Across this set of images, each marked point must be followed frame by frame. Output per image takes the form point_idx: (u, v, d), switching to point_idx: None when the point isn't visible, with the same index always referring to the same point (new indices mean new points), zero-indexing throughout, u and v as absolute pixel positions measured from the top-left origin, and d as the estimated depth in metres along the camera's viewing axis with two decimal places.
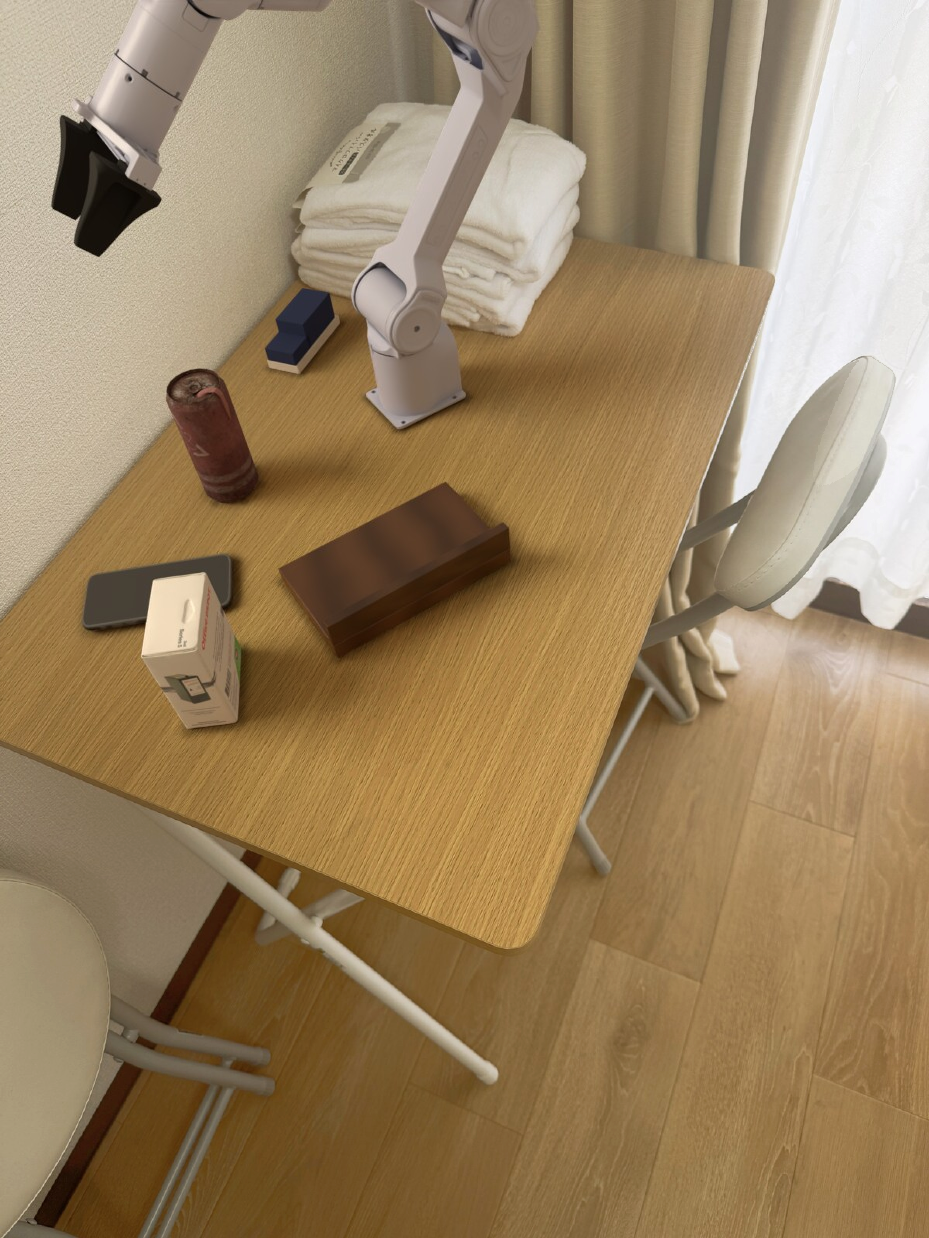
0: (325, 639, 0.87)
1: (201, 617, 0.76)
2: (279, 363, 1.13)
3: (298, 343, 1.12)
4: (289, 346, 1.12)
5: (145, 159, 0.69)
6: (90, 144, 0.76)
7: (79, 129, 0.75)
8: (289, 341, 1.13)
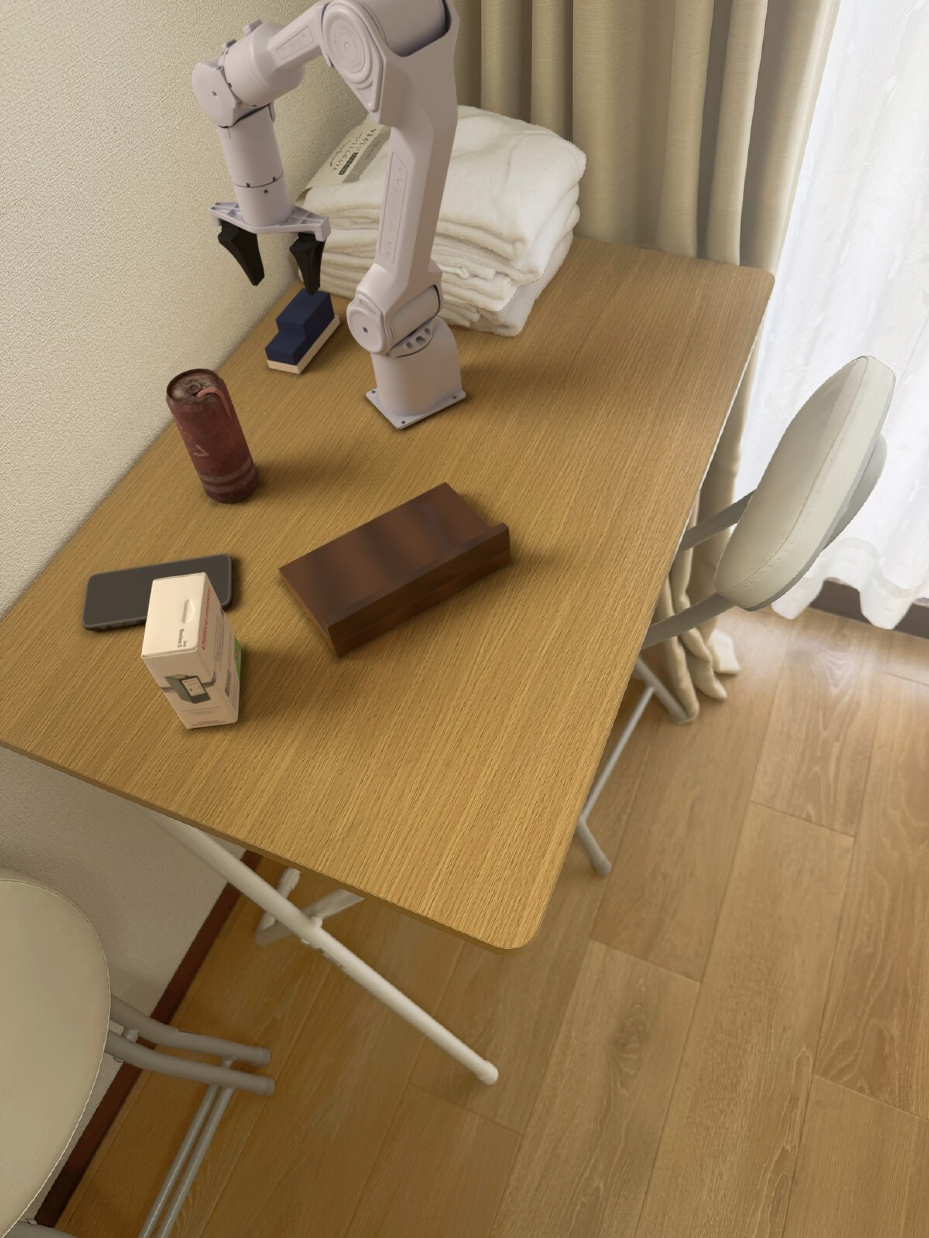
0: (325, 639, 0.87)
1: (201, 617, 0.76)
2: (279, 363, 1.13)
3: (298, 343, 1.12)
4: (289, 346, 1.12)
5: (214, 204, 1.05)
6: None
7: None
8: (289, 341, 1.13)
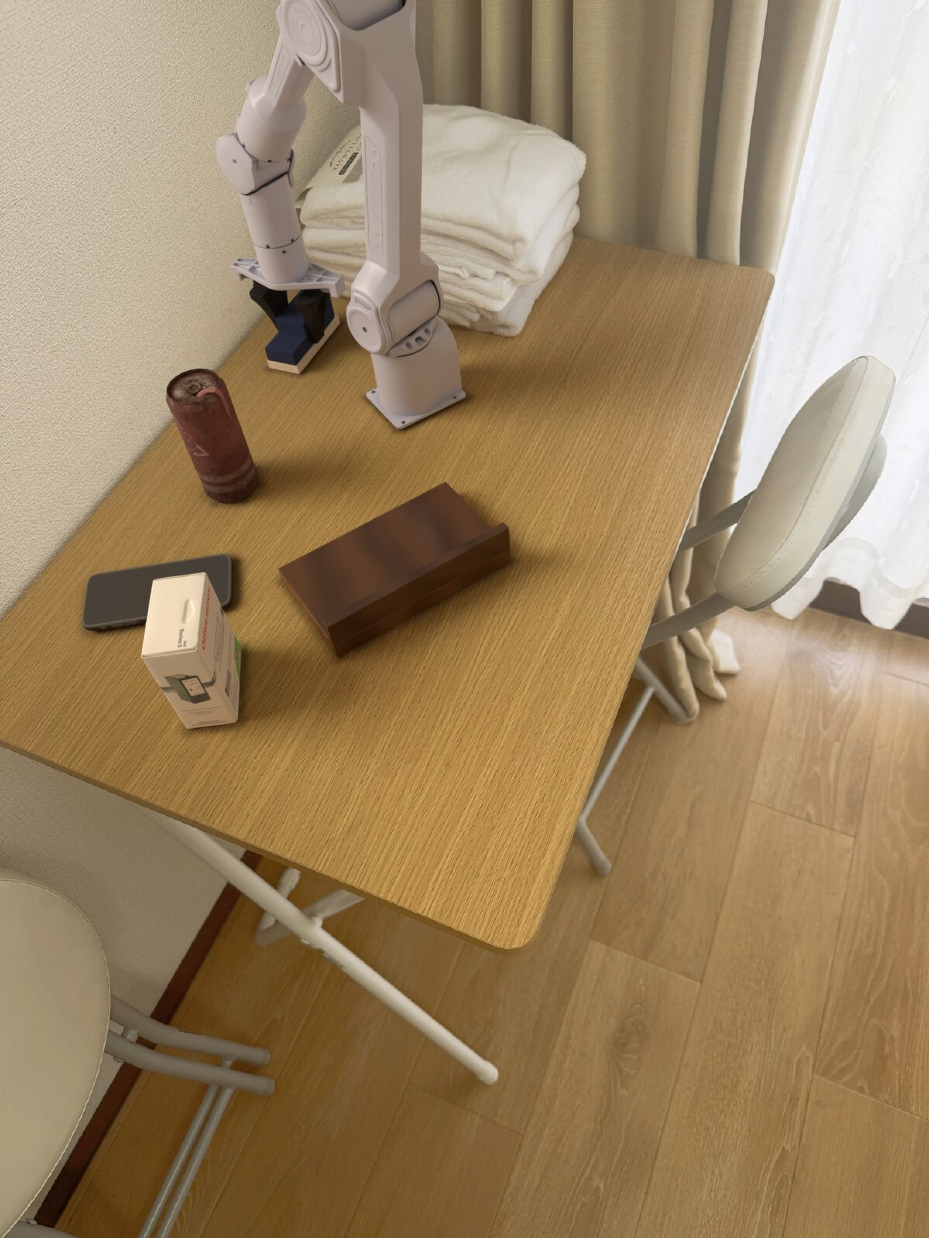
0: (325, 639, 0.87)
1: (201, 616, 0.76)
2: (279, 363, 1.13)
3: (298, 343, 1.12)
4: (289, 346, 1.12)
5: (236, 259, 1.11)
6: None
7: None
8: (289, 341, 1.13)
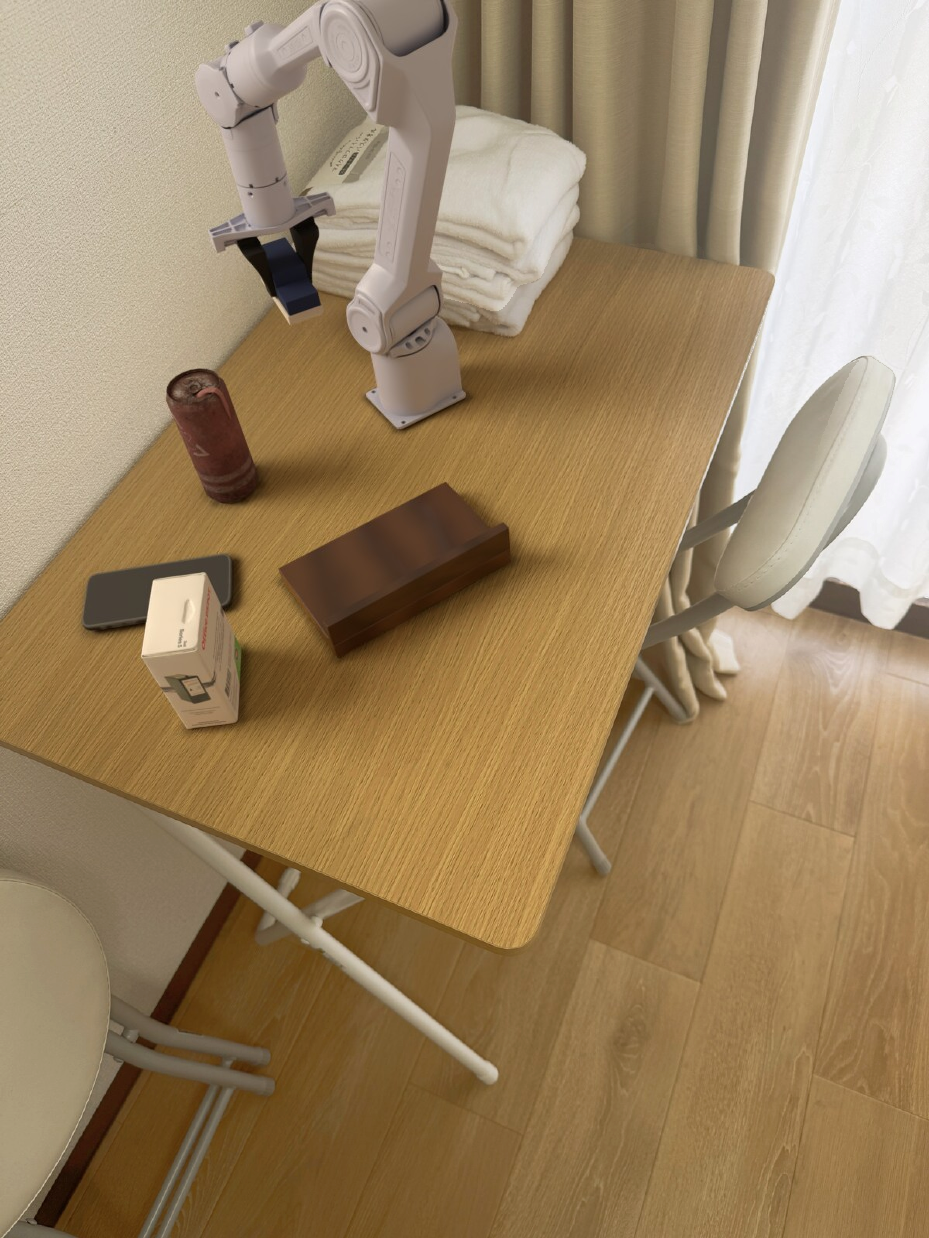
0: (325, 639, 0.87)
1: (201, 617, 0.76)
2: (302, 312, 1.07)
3: (308, 284, 1.07)
4: (305, 289, 1.07)
5: (208, 232, 1.02)
6: (293, 231, 1.06)
7: None
8: (298, 287, 1.07)
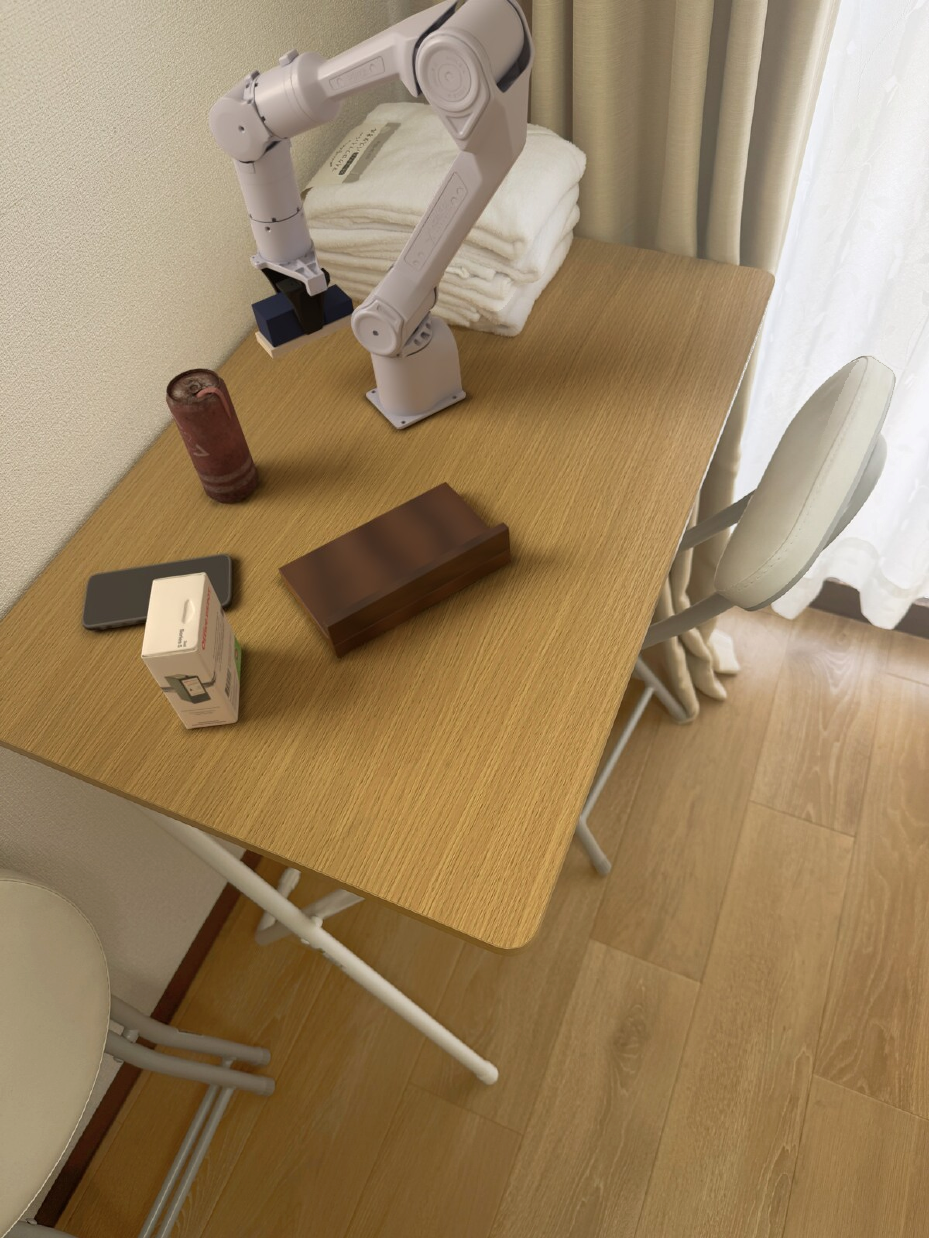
0: (325, 639, 0.87)
1: (201, 617, 0.76)
2: None
3: None
4: (331, 291, 1.06)
5: (311, 278, 0.94)
6: None
7: None
8: (326, 296, 1.06)
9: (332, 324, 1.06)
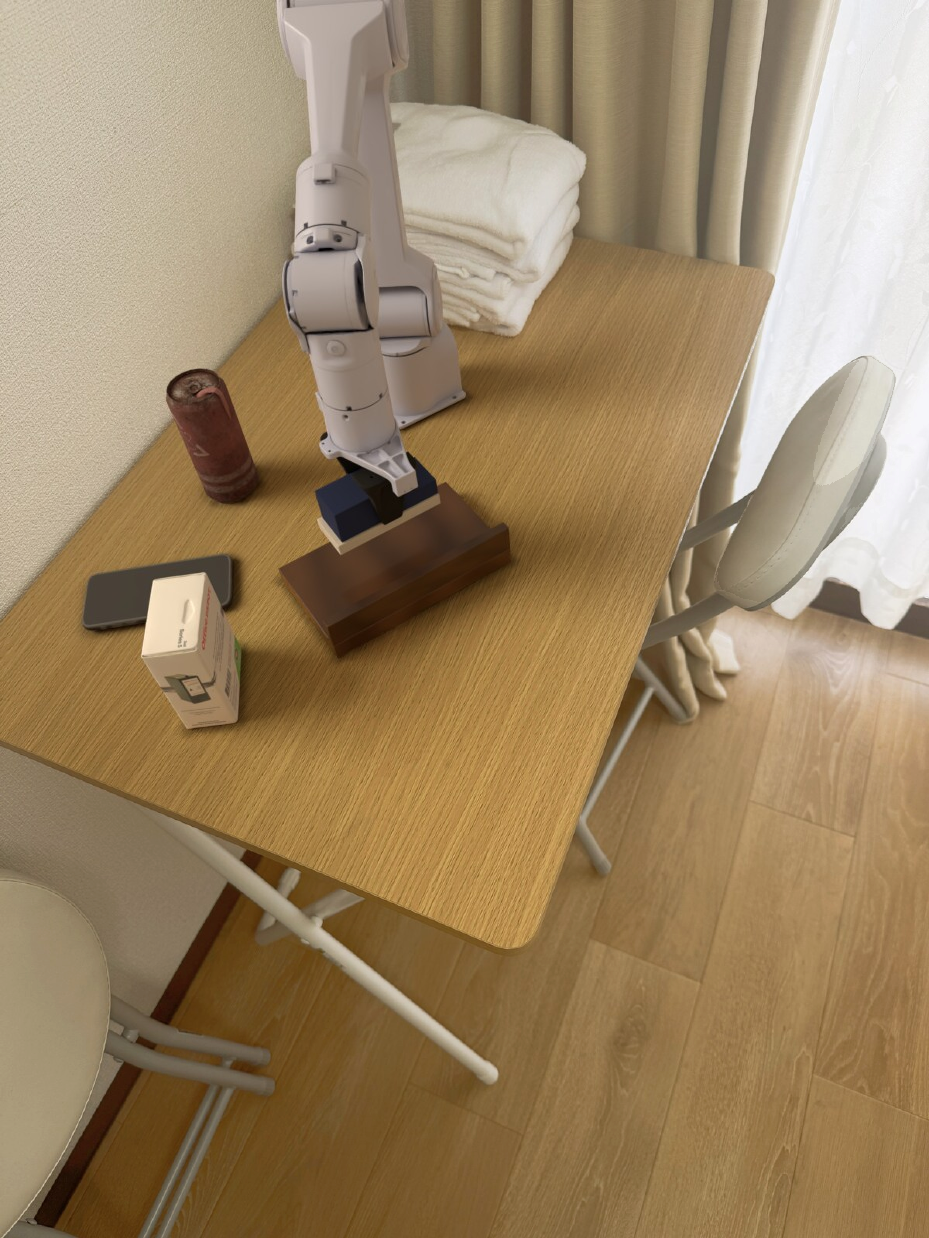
0: (325, 639, 0.87)
1: (201, 617, 0.76)
2: None
3: None
4: None
5: (400, 478, 0.75)
6: None
7: None
8: None
9: (411, 509, 0.86)
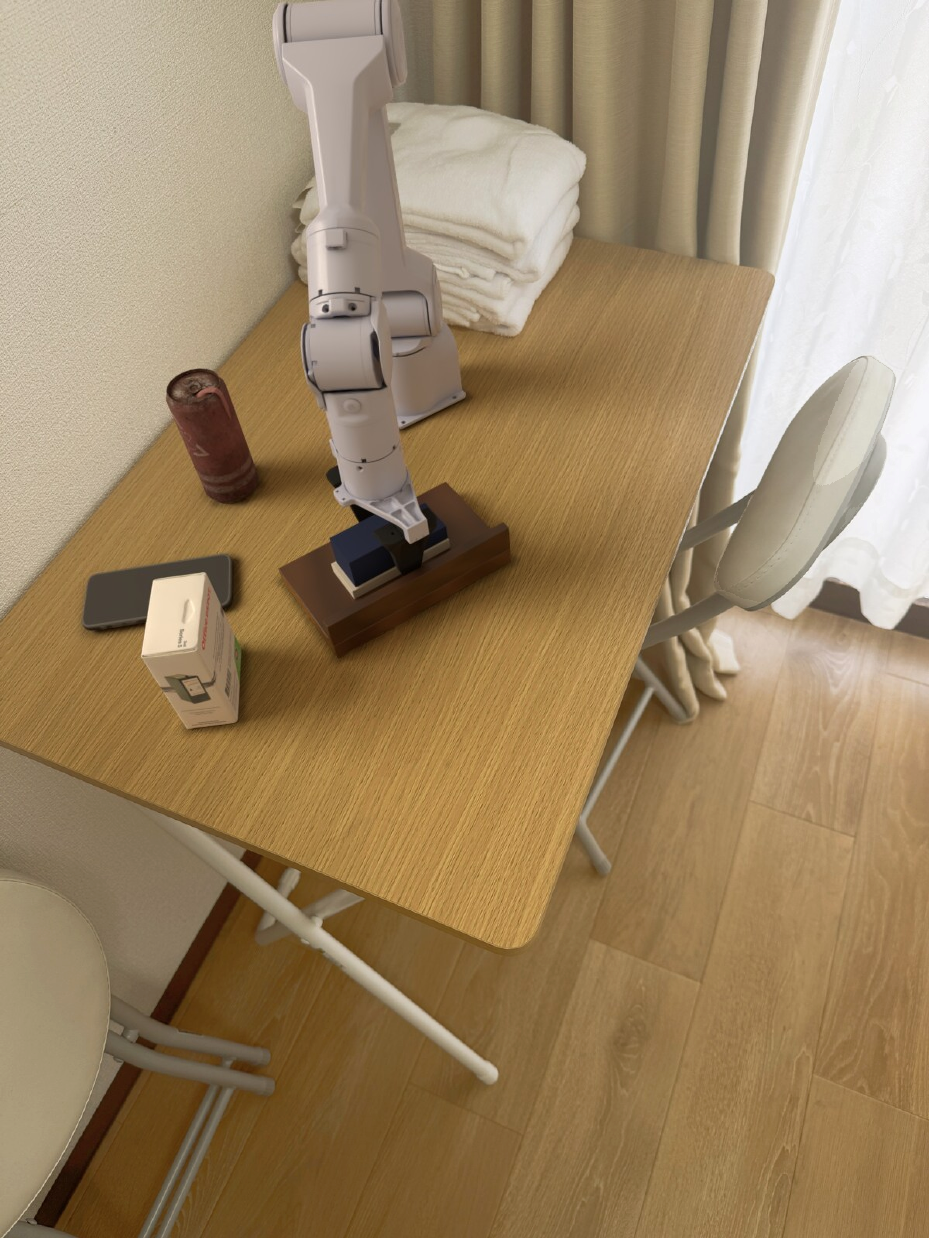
0: (325, 639, 0.87)
1: (201, 617, 0.76)
2: None
3: None
4: None
5: (412, 527, 0.78)
6: None
7: None
8: None
9: None
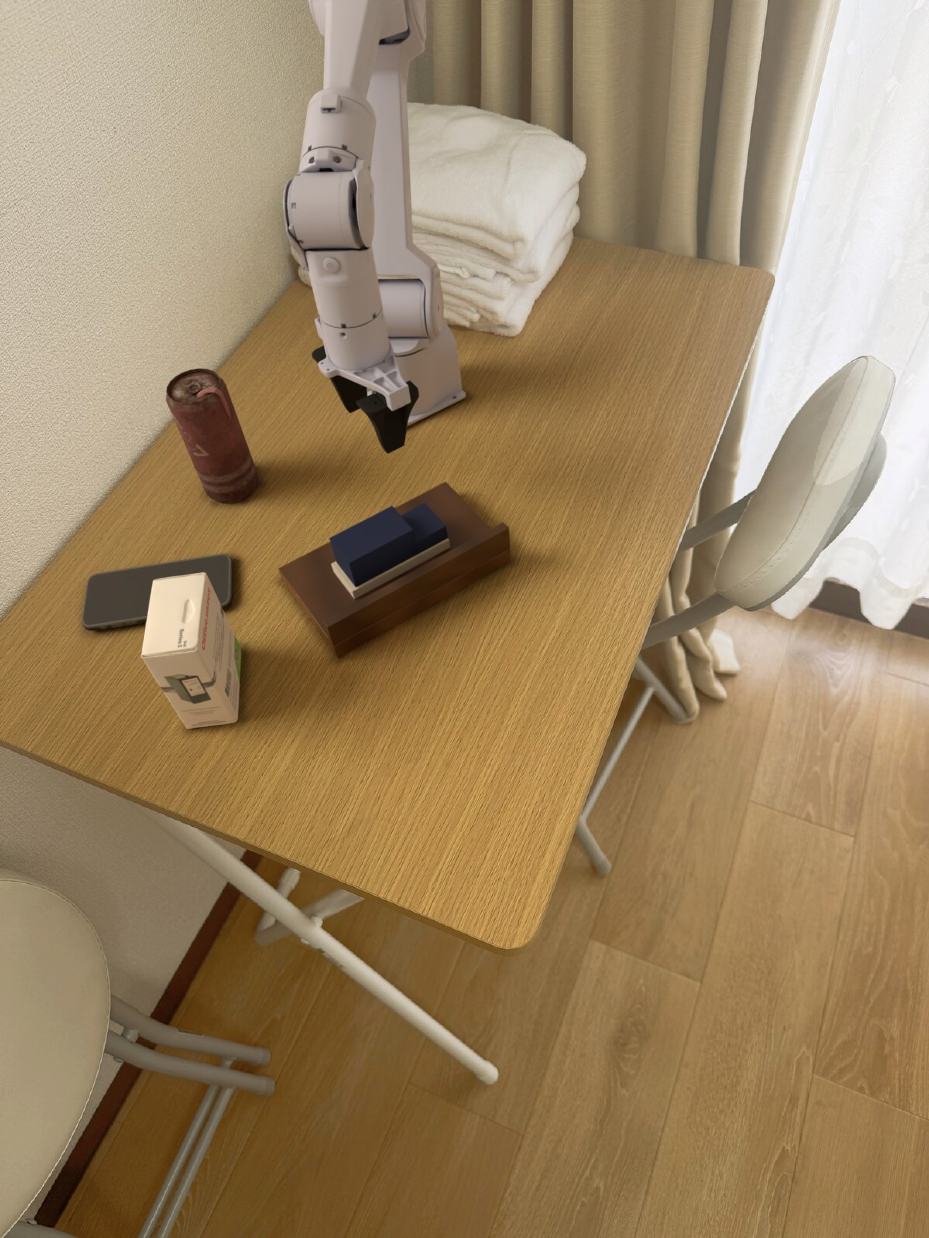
0: (325, 639, 0.87)
1: (201, 617, 0.76)
2: None
3: (408, 514, 0.90)
4: (420, 514, 0.90)
5: (394, 392, 0.81)
6: None
7: None
8: (415, 521, 0.90)
9: (422, 554, 0.89)
